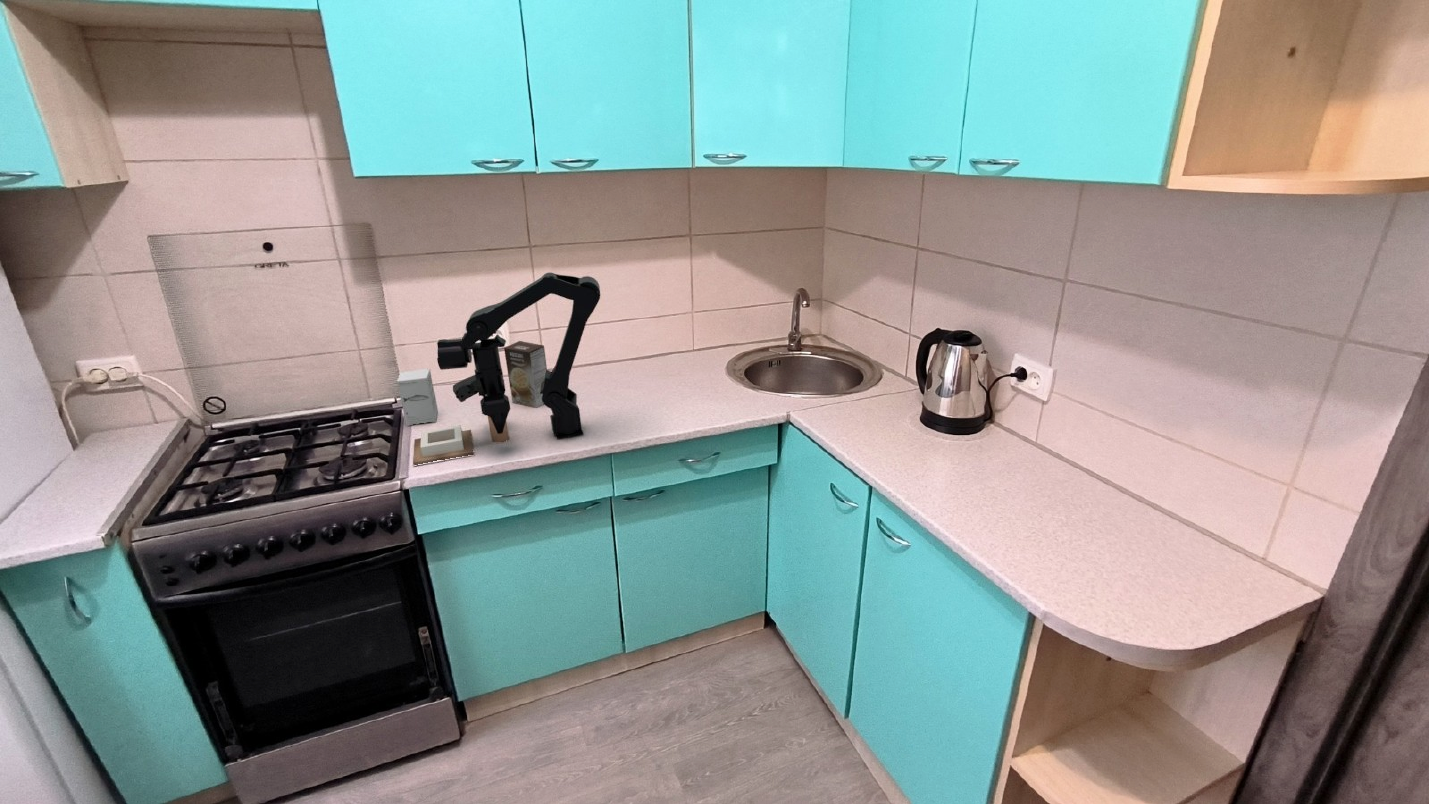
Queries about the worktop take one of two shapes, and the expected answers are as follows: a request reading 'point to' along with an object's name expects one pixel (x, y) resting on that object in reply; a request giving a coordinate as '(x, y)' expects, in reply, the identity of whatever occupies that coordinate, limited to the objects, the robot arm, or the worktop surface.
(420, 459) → the board
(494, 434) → the terracotta pin
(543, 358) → the coffee box
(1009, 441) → the worktop surface
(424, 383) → the supplement box
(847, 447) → the worktop surface
